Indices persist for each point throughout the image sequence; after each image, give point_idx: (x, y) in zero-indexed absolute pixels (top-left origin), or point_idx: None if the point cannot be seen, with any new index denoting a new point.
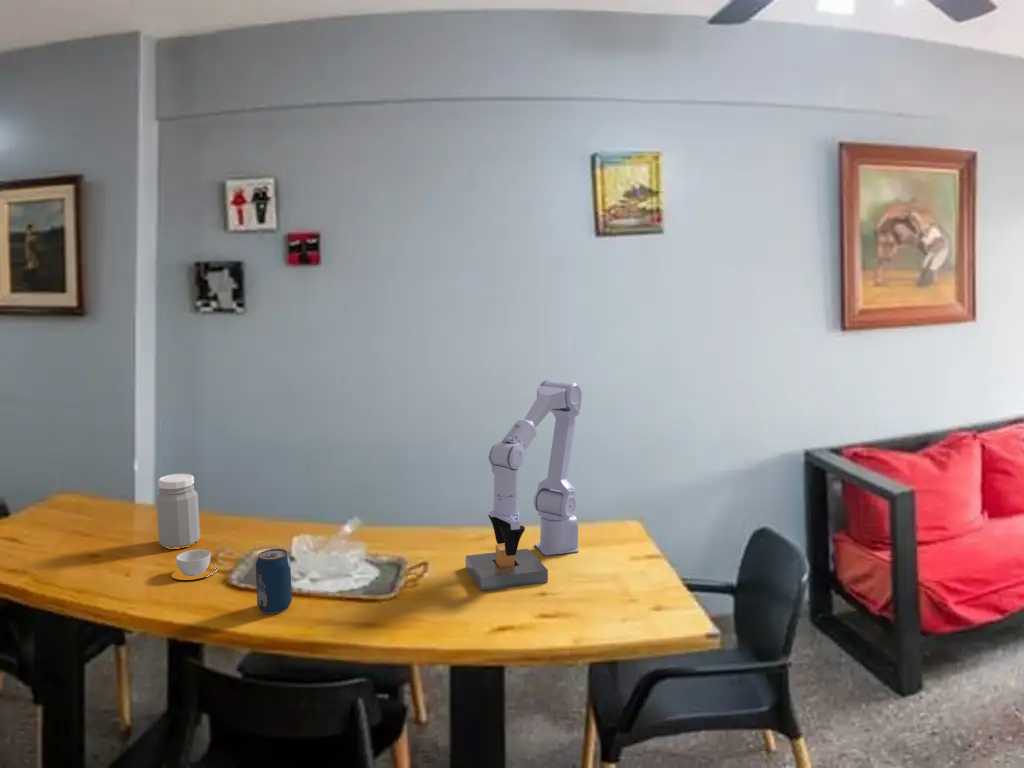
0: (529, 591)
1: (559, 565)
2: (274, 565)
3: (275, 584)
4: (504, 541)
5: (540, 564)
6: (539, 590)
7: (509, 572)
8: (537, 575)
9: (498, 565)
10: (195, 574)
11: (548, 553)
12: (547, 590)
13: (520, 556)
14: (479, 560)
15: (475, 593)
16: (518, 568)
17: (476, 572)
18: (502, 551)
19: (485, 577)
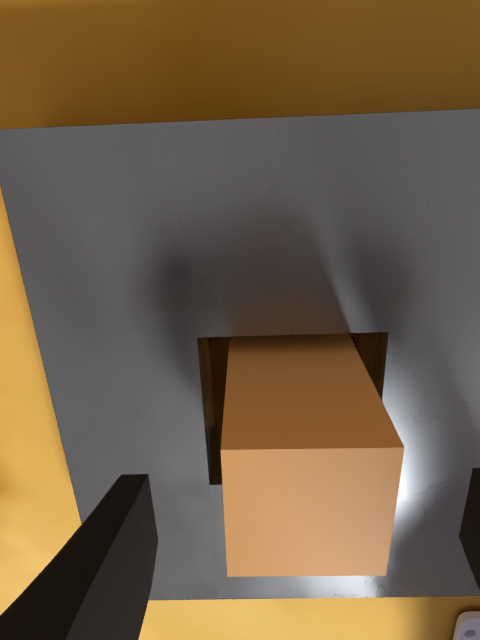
0: (16, 426)
1: (317, 626)
2: None
3: None
4: (55, 610)
5: (195, 590)
6: (26, 474)
7: (96, 393)
8: None
9: (268, 351)
10: None
11: (462, 633)
12: (23, 506)
13: None
14: (421, 219)
15: (7, 72)
16: (159, 466)
17: (160, 122)
18: (222, 462)
19: (7, 178)
